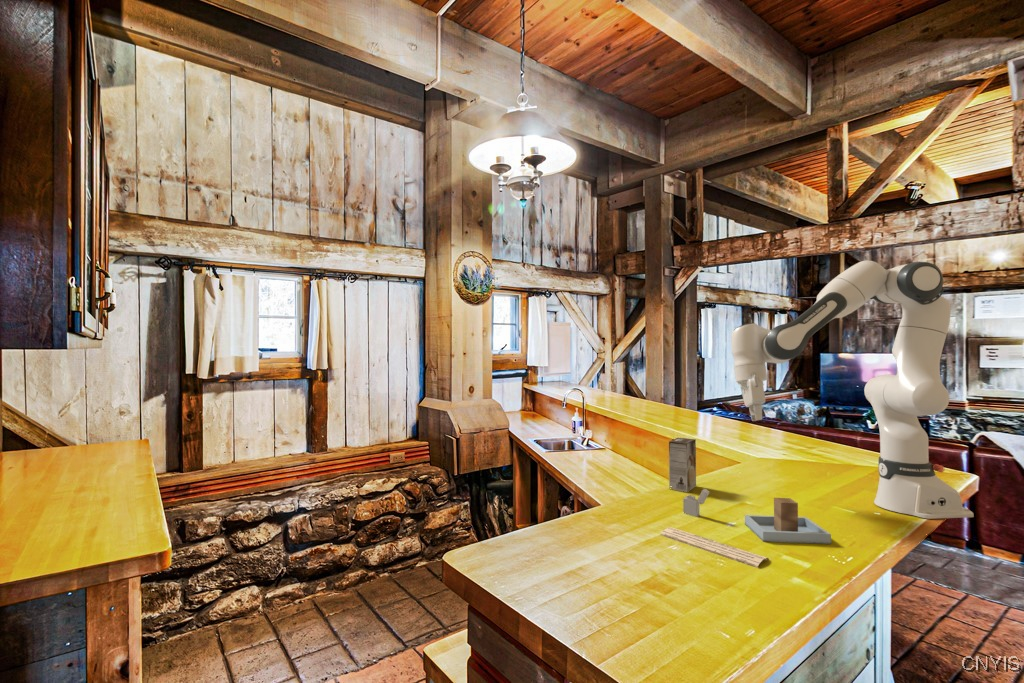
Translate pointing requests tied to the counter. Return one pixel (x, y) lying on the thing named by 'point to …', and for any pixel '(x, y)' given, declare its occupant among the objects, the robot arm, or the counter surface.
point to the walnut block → (785, 514)
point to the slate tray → (805, 534)
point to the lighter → (694, 503)
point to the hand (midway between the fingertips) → (757, 420)
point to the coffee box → (682, 464)
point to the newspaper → (714, 547)
